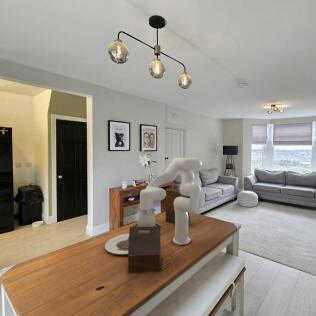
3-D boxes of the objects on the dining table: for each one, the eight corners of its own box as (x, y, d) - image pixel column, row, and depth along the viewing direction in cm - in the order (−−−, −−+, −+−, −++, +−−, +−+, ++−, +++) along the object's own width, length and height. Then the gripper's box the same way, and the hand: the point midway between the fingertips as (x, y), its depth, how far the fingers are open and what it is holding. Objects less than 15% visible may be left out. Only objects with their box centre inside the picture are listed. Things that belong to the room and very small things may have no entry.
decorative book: (189, 224, 171) (190, 190, 170) (185, 227, 165) (185, 191, 164) (169, 219, 184) (169, 187, 183) (164, 221, 178) (164, 188, 177)
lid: (129, 227, 106) (128, 227, 101) (160, 226, 108) (160, 226, 103) (128, 254, 103) (126, 257, 98) (160, 253, 104) (159, 255, 99)
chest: (132, 258, 116) (132, 244, 115) (160, 257, 117) (161, 243, 117) (128, 272, 103) (128, 255, 102) (159, 270, 104) (160, 254, 104)
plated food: (100, 259, 114) (100, 253, 114) (109, 237, 143) (109, 232, 143) (152, 253, 121) (152, 248, 121) (150, 234, 150) (150, 229, 150)
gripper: (161, 208, 117) (161, 236, 118) (132, 209, 115) (132, 237, 116) (161, 212, 110) (161, 242, 110) (130, 213, 108) (130, 243, 109)
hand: (146, 240), depth 113 cm, fingers open, 9 cm apart
